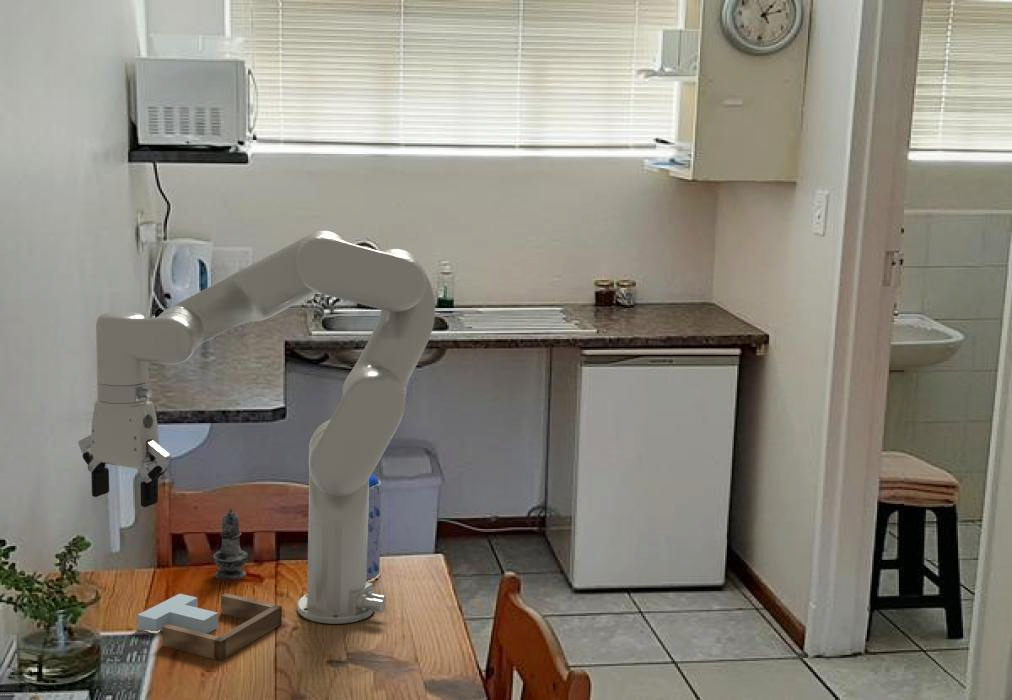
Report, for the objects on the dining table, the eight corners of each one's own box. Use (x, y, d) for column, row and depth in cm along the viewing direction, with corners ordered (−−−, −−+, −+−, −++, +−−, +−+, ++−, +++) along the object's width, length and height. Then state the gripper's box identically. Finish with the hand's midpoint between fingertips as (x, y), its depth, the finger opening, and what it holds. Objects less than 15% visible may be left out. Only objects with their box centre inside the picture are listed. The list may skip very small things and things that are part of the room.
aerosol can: (386, 570, 219) (389, 461, 215) (371, 586, 211) (374, 473, 208) (345, 564, 221) (347, 457, 217) (328, 580, 213) (330, 468, 210)
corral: (162, 645, 184) (162, 626, 184) (225, 610, 198) (225, 593, 198) (220, 660, 180) (220, 641, 180) (281, 624, 194) (281, 606, 193)
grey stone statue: (250, 569, 217) (250, 503, 215) (244, 581, 211) (245, 514, 209) (216, 568, 217) (216, 502, 214) (210, 580, 211) (210, 513, 209)
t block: (137, 630, 190) (137, 614, 189) (179, 608, 199) (179, 593, 198) (190, 643, 186) (190, 627, 185) (230, 620, 195) (230, 605, 194)
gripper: (184, 395, 189) (184, 502, 192) (96, 381, 196) (98, 485, 199) (151, 404, 182) (152, 515, 186) (62, 390, 189) (64, 497, 192)
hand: (124, 499), depth 192 cm, fingers open, 9 cm apart
